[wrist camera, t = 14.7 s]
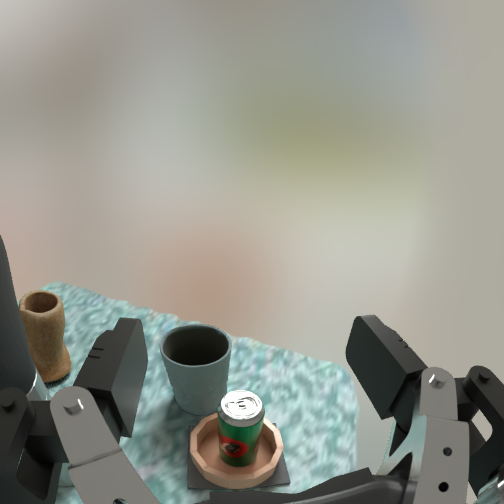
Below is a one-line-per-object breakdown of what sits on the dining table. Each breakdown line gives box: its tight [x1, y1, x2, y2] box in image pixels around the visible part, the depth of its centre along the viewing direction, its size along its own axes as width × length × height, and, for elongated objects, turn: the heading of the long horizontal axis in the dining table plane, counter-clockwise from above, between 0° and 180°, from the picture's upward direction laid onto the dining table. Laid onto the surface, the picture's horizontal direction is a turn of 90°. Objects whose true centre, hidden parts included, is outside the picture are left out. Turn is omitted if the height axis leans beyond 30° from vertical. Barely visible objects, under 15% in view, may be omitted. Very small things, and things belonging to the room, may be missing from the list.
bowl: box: [190, 413, 284, 489], centre depth 29 cm, size 12×12×4 cm
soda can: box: [217, 390, 265, 467], centre depth 27 cm, size 5×5×12 cm
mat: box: [188, 423, 290, 489], centre depth 30 cm, size 13×11×1 cm
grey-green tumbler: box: [160, 324, 232, 415], centre depth 38 cm, size 10×10×12 cm
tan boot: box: [19, 290, 71, 383], centre depth 38 cm, size 15×12×15 cm
